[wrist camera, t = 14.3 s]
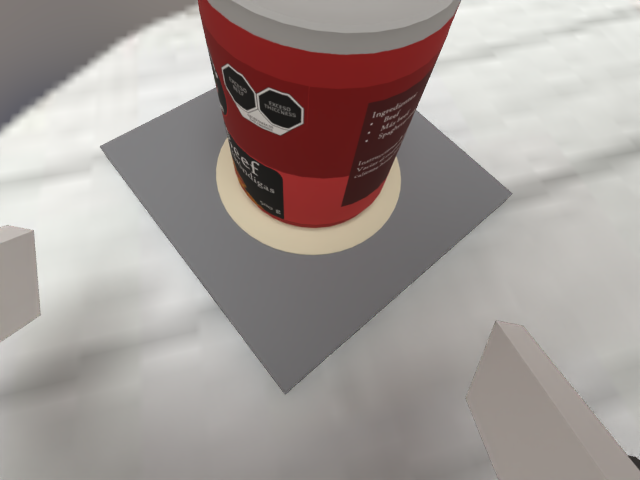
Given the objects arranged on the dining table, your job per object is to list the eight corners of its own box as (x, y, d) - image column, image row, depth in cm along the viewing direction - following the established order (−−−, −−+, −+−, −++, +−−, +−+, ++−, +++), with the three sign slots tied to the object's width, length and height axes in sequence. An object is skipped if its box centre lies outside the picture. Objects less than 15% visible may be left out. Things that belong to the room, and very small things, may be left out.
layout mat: (324, 45, 26) (325, 30, 25) (503, 202, 22) (513, 192, 21) (107, 157, 21) (98, 145, 20) (285, 394, 17) (284, 392, 16)
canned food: (232, 119, 22) (185, -134, 12) (368, 112, 23) (431, -127, 13) (239, 241, 18) (183, 36, 9) (397, 226, 20) (510, 28, 10)
